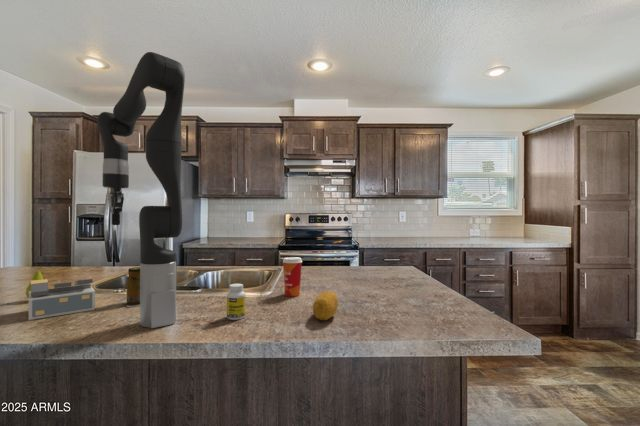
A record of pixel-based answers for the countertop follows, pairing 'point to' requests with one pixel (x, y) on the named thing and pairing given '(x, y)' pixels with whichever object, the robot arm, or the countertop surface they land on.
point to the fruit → (36, 277)
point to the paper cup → (292, 275)
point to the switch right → (83, 282)
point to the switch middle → (61, 284)
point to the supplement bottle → (236, 302)
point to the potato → (325, 305)
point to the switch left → (39, 287)
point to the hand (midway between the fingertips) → (115, 224)
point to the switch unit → (62, 301)
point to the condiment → (133, 287)
